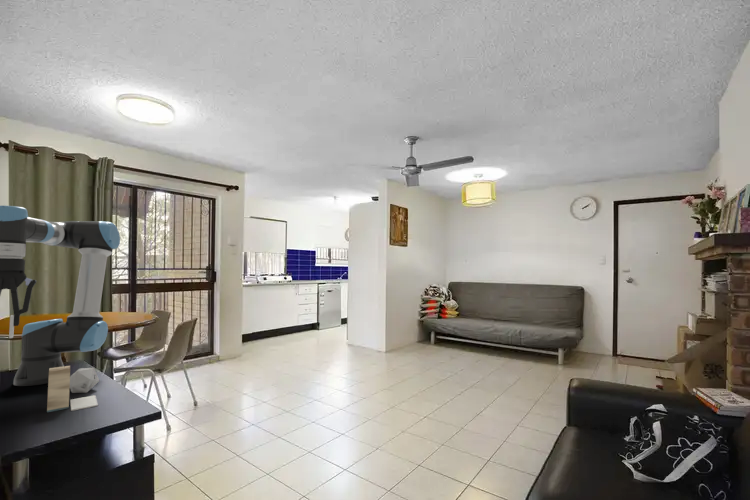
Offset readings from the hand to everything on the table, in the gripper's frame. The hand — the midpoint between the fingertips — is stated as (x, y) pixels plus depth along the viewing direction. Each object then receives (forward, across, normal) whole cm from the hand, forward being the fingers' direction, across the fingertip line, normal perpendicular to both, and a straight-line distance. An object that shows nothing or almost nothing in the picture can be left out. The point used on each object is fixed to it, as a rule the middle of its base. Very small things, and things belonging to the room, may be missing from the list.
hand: (3, 337), depth 109 cm
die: (+23, +20, +14) cm, 33 cm away
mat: (+23, +19, -2) cm, 30 cm away
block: (+23, +13, -2) cm, 26 cm away
